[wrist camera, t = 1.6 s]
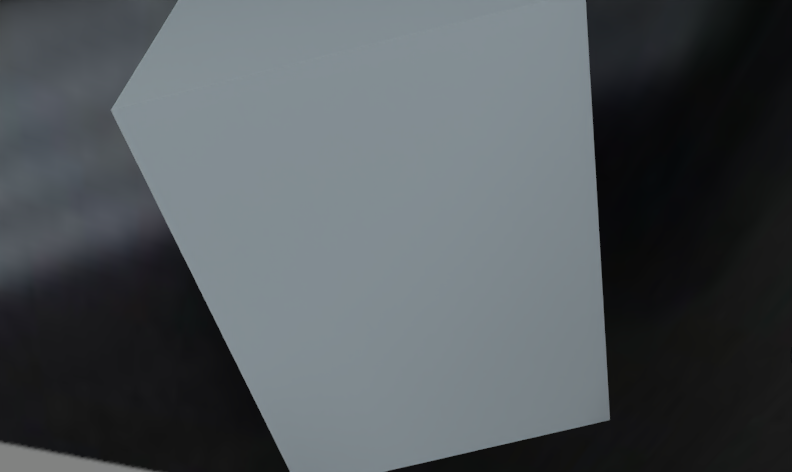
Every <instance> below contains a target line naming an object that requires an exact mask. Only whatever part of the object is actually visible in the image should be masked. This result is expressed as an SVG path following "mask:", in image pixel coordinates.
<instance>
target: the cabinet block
mask: <svg viewBox="0 0 792 472" xmlns="http://www.w3.org/2000/svg"><path fill="white" fill-rule="evenodd" d="M111 112H112V114H113V116H114V118H115V120H116V122H117V124H118V126H119V128H120V130H121V132H122V134H123V136H124V138H125V140H126V142H127V144H128V146H129V148H130V150H131V152H132V154H133V156H134V158H135V160H136V162H137V164H138V166H139V168H140V170H141V172H142V174H143V176H144V178H145V180H146V182H147V184H148V186H149V188H150V190H151V192H152V194H153V196H154V198H155V200H156V202H157V204H158V206H159V208H160V210H161V212H162V214H163V216H164V218H165V221H166V223H167V225H168V227H169V229H170V231H171V233H172V235H173V237H174V239H175V241H176V243H177V245H178V247H179V249H180V251H181V253H182V255H183V257H184V259H185V261H186V263H187V265H188V267H189V269H190V271H191V273H192V275H193V277H194V279H195V281H196V283H197V285H198V287H199V289H200V291H201V293H202V295H203V297H204V299H205V301H206V303H207V305H208V307H209V309H210V311H211V313H212V315H213V317H214V319H215V321H216V323H217V325H218V327H219V329H220V331H221V333H222V335H223V337H224V339H225V341H226V343H227V346H228V348H229V350H230V352H231V354H232V356H233V358H234V360H235V362H236V364H237V366H238V368H239V370H240V372H241V374H242V376H243V378H244V380H245V382H246V384H247V386H248V388H249V390H250V392H251V394H252V396H253V398H254V400H255V402H256V404H257V406H258V408H259V410H260V412H261V414H262V416H263V418H264V420H265V422H266V424H267V426H268V428H269V430H270V432H271V434H272V436H273V438H274V440H275V442H276V444H277V446H278V448H279V450H280V452H281V454H282V456H283V458H284V460H285V462H286V464H287V466H288V468H289V470H290V472H385V471H389V470H394V469H398V468H402V467H407V466H411V465H415V464H420V463H424V462H429V461H433V460H437V459H442V458H446V457H450V456H455V455H459V454H463V453H468V452H472V451H477V450H481V449H485V448H490V447H494V446H498V445H503V444H507V443H511V442H516V441H520V440H524V439H529V438H533V437H538V436H542V435H546V434H551V433H555V432H559V431H564V430H568V429H572V428H577V427H581V426H586V425H590V424H594V423H599V422H603V421H607V420H610V413H609V395H608V378H607V360H606V343H605V326H604V308H603V291H602V273H601V256H600V239H599V221H598V204H597V186H596V169H595V152H594V134H593V117H592V99H591V82H590V65H589V47H588V30H587V12H586V0H178V2H177V3H176V5H175V7H174V8H173V10H172V12H171V13H170V15H169V16H168V18H167V20H166V21H165V23H164V25H163V26H162V28H161V29H160V31H159V33H158V34H157V36H156V38H155V39H154V41H153V42H152V44H151V46H150V47H149V49H148V51H147V52H146V54H145V55H144V57H143V59H142V60H141V62H140V64H139V65H138V67H137V68H136V70H135V72H134V73H133V75H132V77H131V78H130V80H129V81H128V83H127V85H126V86H125V88H124V90H123V91H122V93H121V94H120V96H119V98H118V99H117V101H116V103H115V104H114V106H113V107H112V109H111Z"/></svg>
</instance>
